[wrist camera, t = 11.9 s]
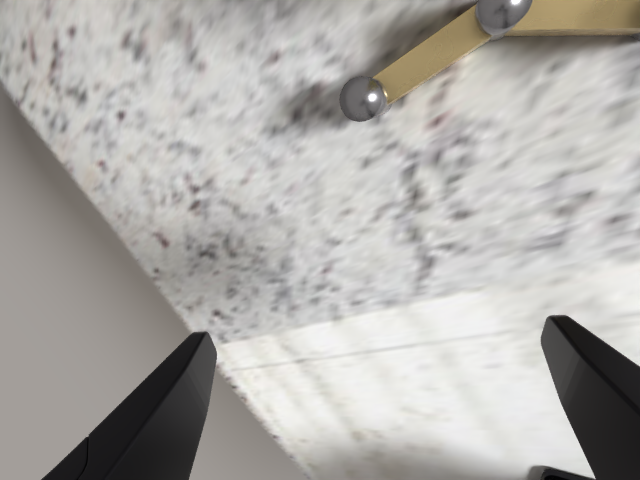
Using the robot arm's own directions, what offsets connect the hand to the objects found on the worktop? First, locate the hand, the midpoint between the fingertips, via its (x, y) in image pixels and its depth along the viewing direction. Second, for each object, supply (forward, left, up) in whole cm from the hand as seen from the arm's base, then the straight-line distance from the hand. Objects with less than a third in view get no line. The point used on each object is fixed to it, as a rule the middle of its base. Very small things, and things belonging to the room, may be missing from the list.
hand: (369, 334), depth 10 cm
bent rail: (-3, -7, -12) cm, 15 cm away
